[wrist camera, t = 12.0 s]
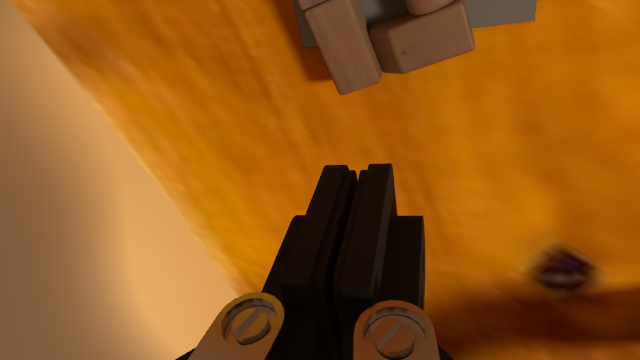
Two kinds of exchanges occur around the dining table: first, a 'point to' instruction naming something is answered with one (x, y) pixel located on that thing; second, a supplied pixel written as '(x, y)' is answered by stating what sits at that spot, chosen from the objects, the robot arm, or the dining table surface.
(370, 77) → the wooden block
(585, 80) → the dining table surface
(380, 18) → the mat
